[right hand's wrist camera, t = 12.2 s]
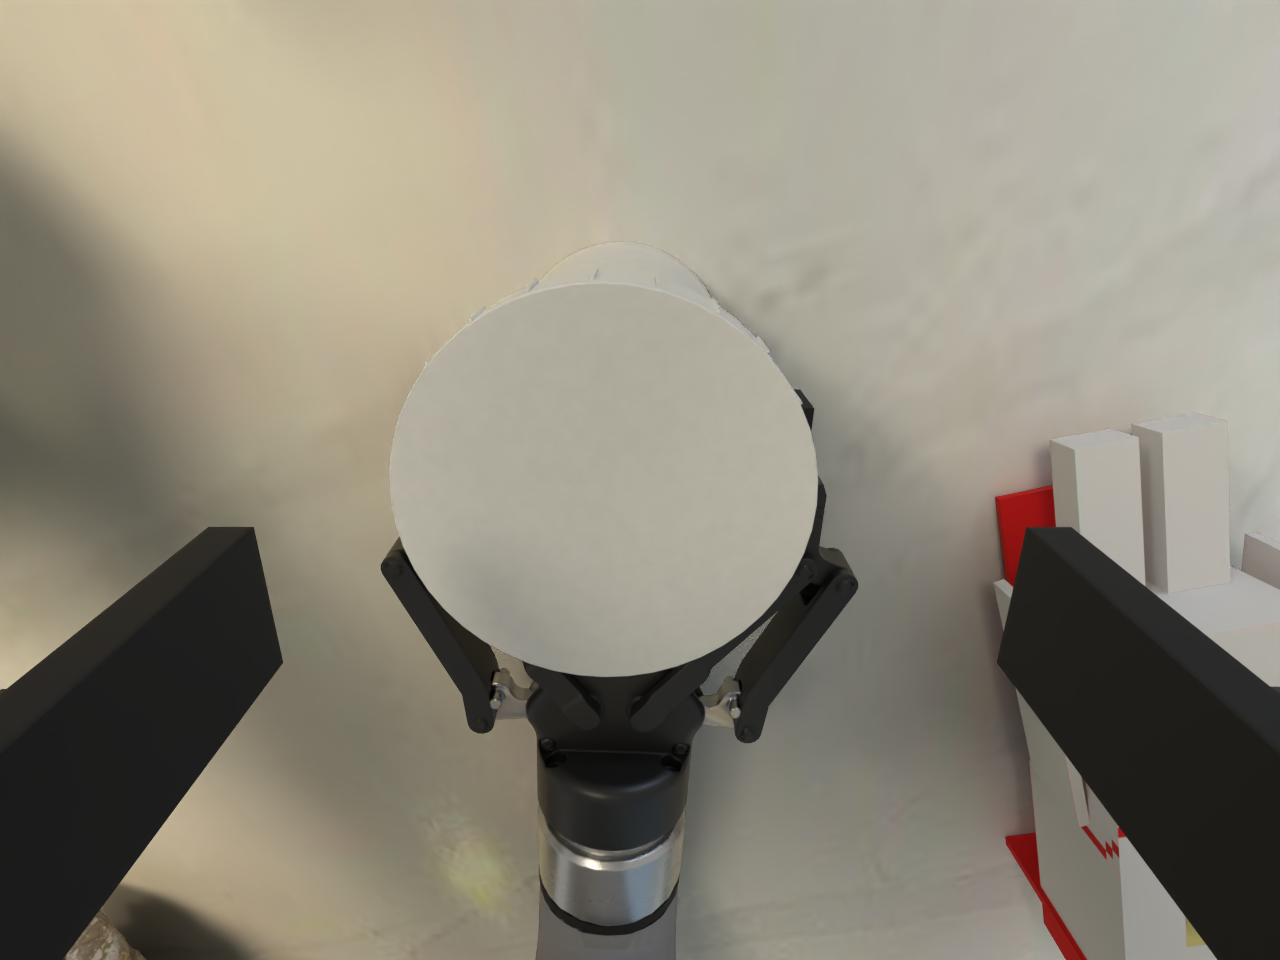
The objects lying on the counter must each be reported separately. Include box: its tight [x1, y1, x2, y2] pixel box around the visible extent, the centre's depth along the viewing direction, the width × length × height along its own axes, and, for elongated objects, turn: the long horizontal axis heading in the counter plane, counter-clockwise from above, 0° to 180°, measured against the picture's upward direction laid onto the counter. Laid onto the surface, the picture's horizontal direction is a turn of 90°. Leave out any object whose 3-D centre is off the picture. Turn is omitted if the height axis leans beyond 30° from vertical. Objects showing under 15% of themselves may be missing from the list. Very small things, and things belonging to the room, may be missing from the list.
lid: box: [389, 268, 818, 677], centre depth 20 cm, size 11×11×2 cm
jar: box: [539, 242, 711, 300], centre depth 27 cm, size 10×10×18 cm
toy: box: [993, 413, 1280, 960], centre depth 37 cm, size 12×13×30 cm
